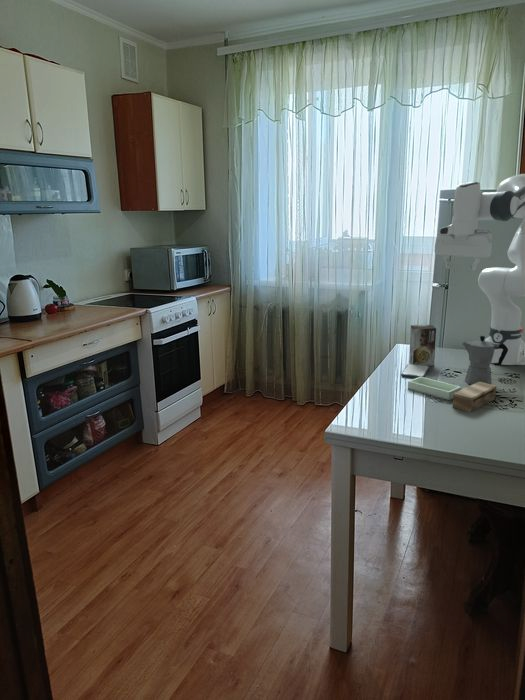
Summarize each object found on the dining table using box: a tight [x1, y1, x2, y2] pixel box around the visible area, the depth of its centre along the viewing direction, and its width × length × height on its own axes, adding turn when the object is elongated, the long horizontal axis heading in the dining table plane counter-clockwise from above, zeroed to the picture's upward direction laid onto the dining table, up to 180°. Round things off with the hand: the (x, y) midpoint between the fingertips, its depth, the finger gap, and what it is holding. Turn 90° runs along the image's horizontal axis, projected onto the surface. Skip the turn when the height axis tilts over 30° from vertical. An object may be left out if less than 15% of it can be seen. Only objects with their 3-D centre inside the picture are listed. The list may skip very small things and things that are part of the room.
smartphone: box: [400, 364, 430, 380], centre depth 203 cm, size 9×2×16 cm
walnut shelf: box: [452, 382, 497, 413], centre depth 170 cm, size 17×6×5 cm, turn 131°
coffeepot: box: [462, 335, 508, 386], centre depth 187 cm, size 15×9×18 cm, turn 66°
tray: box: [407, 376, 462, 401], centre depth 181 cm, size 8×16×3 cm, turn 41°
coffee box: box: [408, 324, 437, 367], centre depth 212 cm, size 9×6×16 cm
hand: (460, 268), depth 185 cm, fingers open, 8 cm apart
